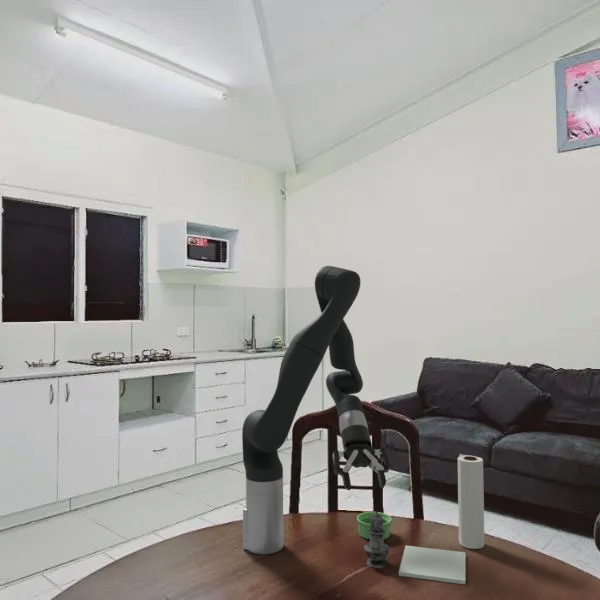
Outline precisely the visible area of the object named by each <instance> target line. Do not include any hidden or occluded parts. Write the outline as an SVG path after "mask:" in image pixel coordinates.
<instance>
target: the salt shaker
mask: <svg viewBox="0 0 600 600" xmlns="http://www.w3.org/2000/svg"><path fill="white" fill-rule="evenodd" d="M374 512H375V514H374V515H372V516H371V517H370V529H369V532H370V540H369V542H368V543H366V544H365V545H364V546H363V549H364V551H365V554H366V557H367V559H366V560H365V565H366V564H367V565H368V566H367V565H366V566H367V567H369V566H370V567H369V568H371V567H373V568H372V569H375V568H381V569H386V568H387V567H388V566H389V565H388V564H389V562H388V560H387V559H386V558H387V557H388V554H389V552H390V546H389V545H388V544H386V543H384V542H385V541H384V540H383V533H384V532H385V531H384V530H383V518H382V516H380V515H378V514H377V513H378V510H375V511H374Z"/></svg>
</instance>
